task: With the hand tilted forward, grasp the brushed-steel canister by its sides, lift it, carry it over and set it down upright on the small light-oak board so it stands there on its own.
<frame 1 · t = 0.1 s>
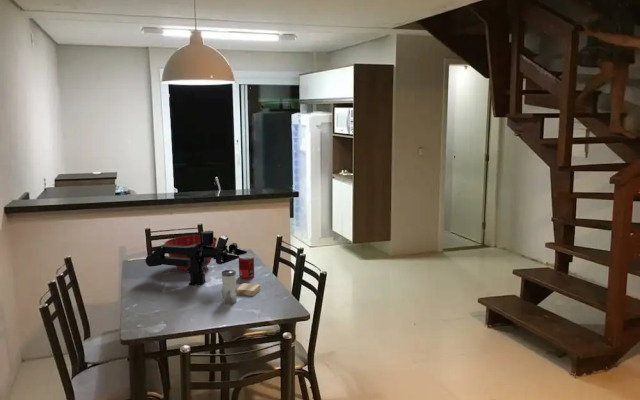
hand: (242, 254, 252), 17 cm above the table, tool horizontal, fingers open, 9 cm apart
canister: (229, 301, 236), on the table
mixing bowl: (192, 268, 289), on the table
oak board: (248, 291, 248), on the table
canned food: (246, 277, 272), on the table
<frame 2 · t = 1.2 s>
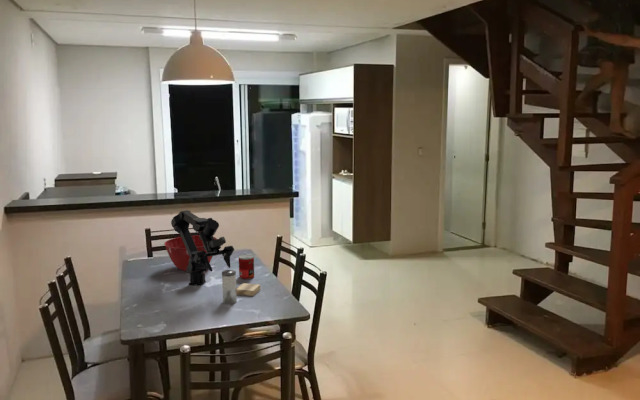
hand: (220, 269, 239), 13 cm above the table, tool tilted 45°, fingers open, 9 cm apart
nothing on the table moved.
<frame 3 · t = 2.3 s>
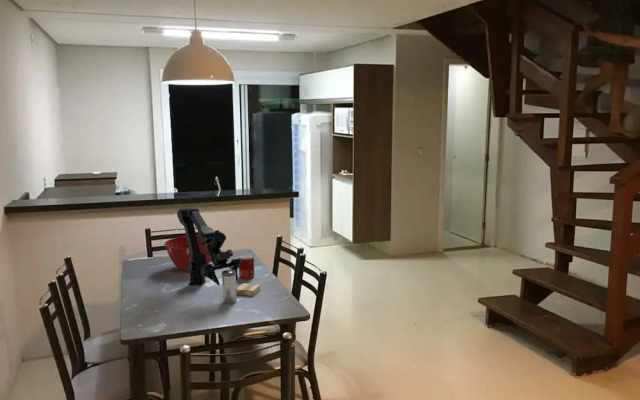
hand: (228, 282, 235), 9 cm above the table, tool tilted 45°, fingers open, 9 cm apart
nothing on the table moved.
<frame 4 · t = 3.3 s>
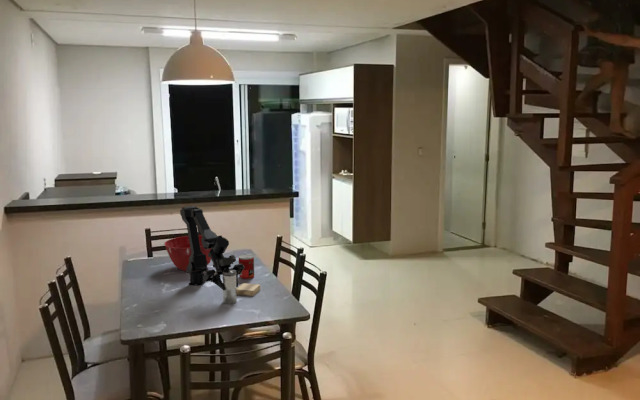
hand: (230, 288, 233), 7 cm above the table, tool tilted 45°, fingers closed on canister, 6 cm apart
canister: (229, 301, 236), on the table, touching gripper
everything else where it was.
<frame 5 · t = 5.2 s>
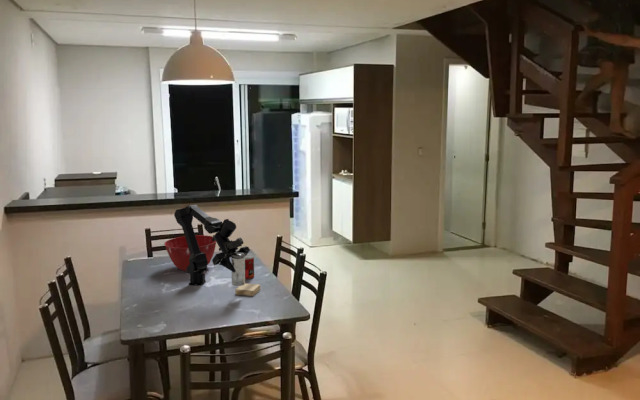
hand: (240, 270, 238), 13 cm above the table, tool tilted 45°, fingers closed on canister, 6 cm apart
canister: (238, 283, 240), point 7 cm above the table, touching gripper
everything else where it was.
when the fingers open (10 cm above the table, at t = 6.9 s): canister drops 1 cm, resting on oak board.
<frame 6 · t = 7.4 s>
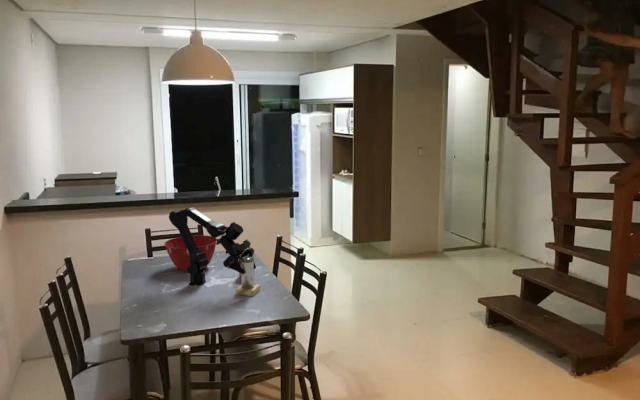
hand: (249, 271, 246), 11 cm above the table, tool tilted 45°, fingers open, 9 cm apart
canister: (247, 286, 248), point 3 cm above the table, touching oak board
everything else where it was.
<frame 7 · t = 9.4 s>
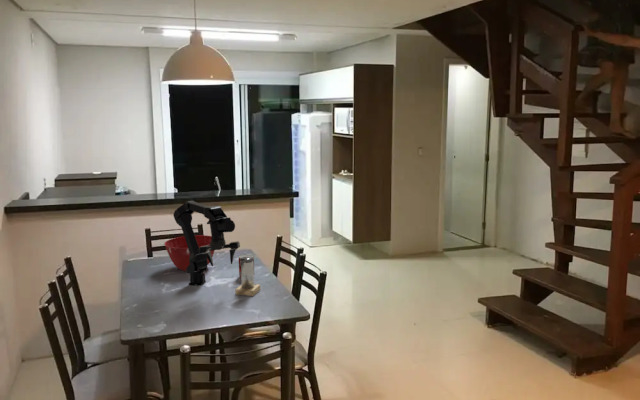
hand: (222, 265, 247), 13 cm above the table, tool pointing down, fingers open, 9 cm apart
nothing on the table moved.
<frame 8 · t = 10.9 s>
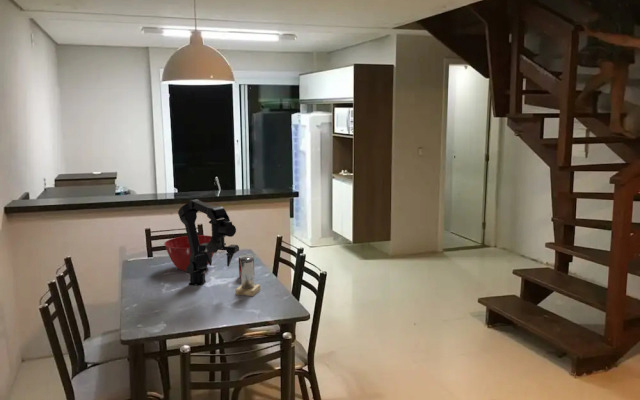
hand: (219, 265, 246), 13 cm above the table, tool pointing down, fingers open, 9 cm apart
nothing on the table moved.
at the end: canister inside the target area on the oak board (0.1 cm from its centre), point 2.5 cm above the oak board's base; canister tilted 0°; the gripper is holding nothing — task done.
